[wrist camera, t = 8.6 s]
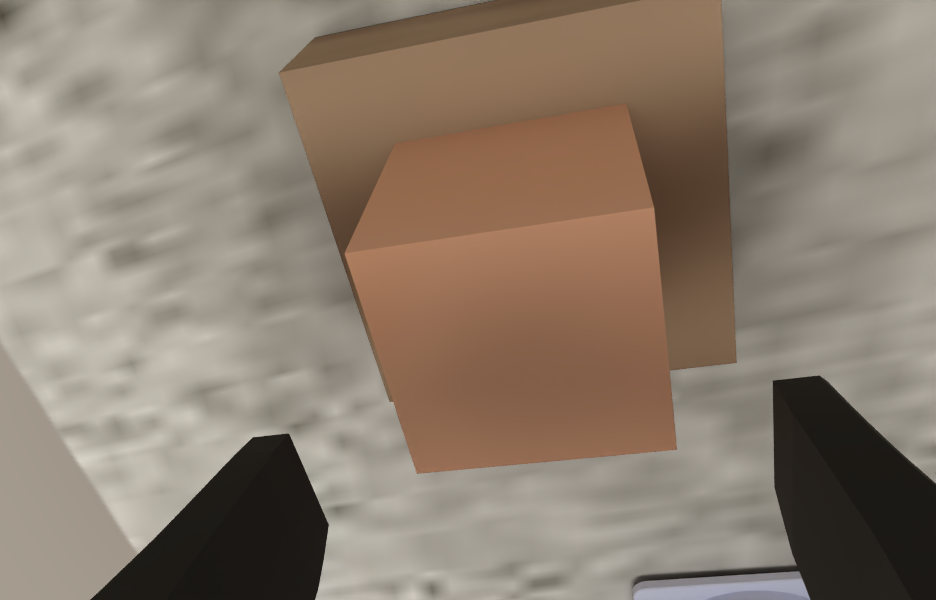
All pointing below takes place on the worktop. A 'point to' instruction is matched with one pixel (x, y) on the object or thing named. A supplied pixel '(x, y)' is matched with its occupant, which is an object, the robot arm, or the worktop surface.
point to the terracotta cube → (518, 293)
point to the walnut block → (538, 96)
